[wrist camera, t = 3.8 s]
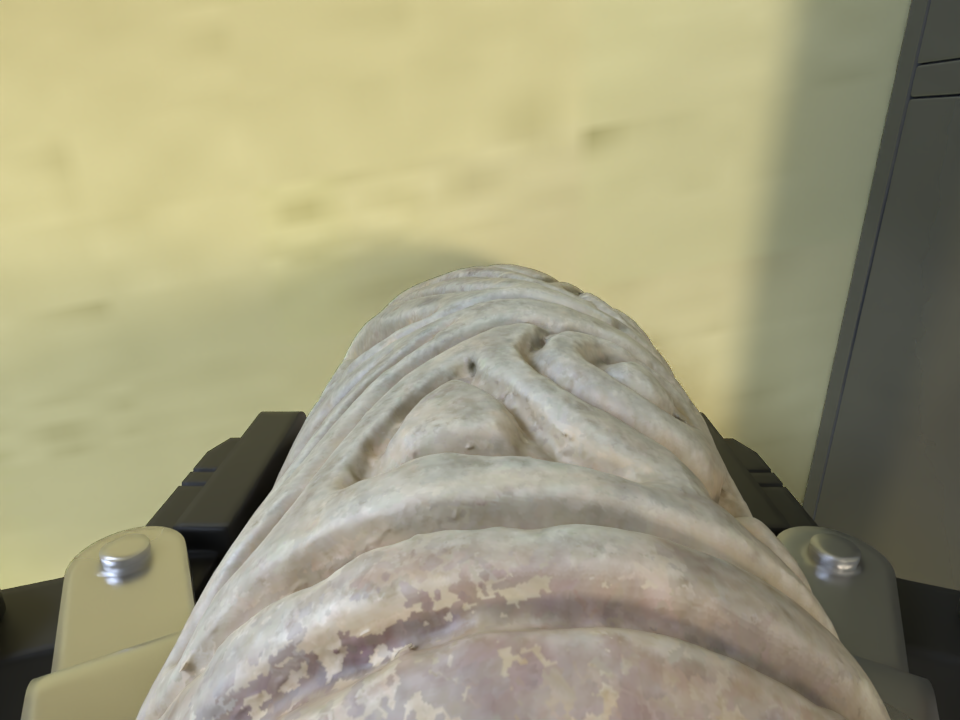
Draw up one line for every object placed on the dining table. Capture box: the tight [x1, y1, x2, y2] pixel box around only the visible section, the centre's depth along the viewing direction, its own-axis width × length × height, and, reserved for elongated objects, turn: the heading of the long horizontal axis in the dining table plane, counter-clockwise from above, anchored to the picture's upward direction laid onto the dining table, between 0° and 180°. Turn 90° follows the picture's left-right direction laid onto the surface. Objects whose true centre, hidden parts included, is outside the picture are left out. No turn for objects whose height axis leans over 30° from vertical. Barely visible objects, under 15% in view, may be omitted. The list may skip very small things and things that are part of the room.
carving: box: [136, 264, 891, 720], centre depth 9 cm, size 6×8×12 cm
